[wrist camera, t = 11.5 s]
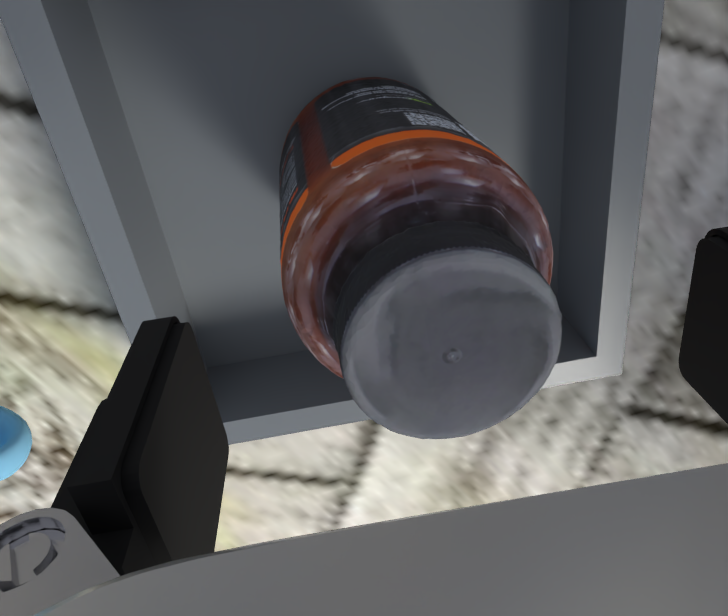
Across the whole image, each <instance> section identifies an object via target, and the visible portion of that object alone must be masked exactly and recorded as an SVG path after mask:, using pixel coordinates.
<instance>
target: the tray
mask: <svg viewBox="0 0 728 616" xmlns="http://www.w3.org/2000/svg"><path fill="white" fill-rule="evenodd" d="M664 1H665V0H0V17H1V19H2V22H3V24H4V27H5V29H6V32H7V34H8V37H9V39H10V42H11V44H12V47H13V49H14V52H15V54H16V57H17V59H18V62H19V64H20V67H21V69H22V72H23V74H24V77H25V79H26V82H27V85H28V87H29V90H30V92H31V95H32V97H33V100H34V102H35V105H36V107H37V110H38V112H39V115H40V117H41V120H42V122H43V125H44V127H45V130H46V132H47V135H48V137H49V140H50V142H51V145H52V147H53V150H54V152H55V155H56V157H57V160H58V162H59V165H60V167H61V170H62V172H63V175H64V177H65V180H66V182H67V185H68V187H69V190H70V192H71V195H72V197H73V200H74V202H75V205H76V207H77V210H78V212H79V215H80V217H81V220H82V222H83V225H84V227H85V230H86V232H87V235H88V237H89V240H90V242H91V245H92V247H93V250H94V252H95V255H96V257H97V260H98V262H99V265H100V267H101V270H102V272H103V275H104V277H105V280H106V282H107V285H108V287H109V290H110V292H111V295H112V297H113V300H114V302H115V305H116V307H117V310H118V312H119V315H120V317H121V320H122V322H123V325H124V327H125V330H126V332H127V335H128V337H129V340H130V342H131V345H132V343H133V340H134V338H135V336H136V334H137V332H138V329H139V327H140V325H141V323H142V322H143V321H147V320H153V319H159V318H165V317H172V316H176V317H177V318H178V319H179V321H180V323H184V322H189V323H190V325H191V327H192V329H193V332H194V335H195V339H196V342H197V345H198V348H199V351H200V354H201V357H202V360H203V363H204V366H205V369H206V372H207V375H208V379H209V382H210V385H211V388H212V391H213V394H214V397H215V400H216V403H217V406H218V409H219V412H220V415H221V419H222V422H223V425H224V428H225V431H226V434H227V438H228V445H230V444H235V443H241V442H247V441H252V440H258V439H263V438H269V437H275V436H280V435H286V434H291V433H297V432H303V431H308V430H314V429H319V428H325V427H330V426H336V425H342V424H347V423H353V422H358V421H364V420H370V419H371V418H370V417H368V416H367V415H366V414H365V413H364V412H363V411H362V410H361V409H360V408H359V407H358V405H357V404H356V402H355V401H354V400H353V399H352V397H351V395H350V393H349V391H348V389H347V387H346V385H345V383H344V380H343V378H341V377H339V376H337V375H336V374H334V373H333V372H331V371H330V370H329V369H328V368H327V367H325V366H324V365H323V364H321V363H320V362H319V361H318V360H317V359H316V358H315V357H314V355H313V354H312V353H311V352H310V351H309V349H308V348H307V347H306V346H305V345H304V343H303V342H302V340H301V338H300V337H299V335H298V333H297V332H296V330H295V328H294V326H293V324H292V322H291V319H290V317H289V314H288V311H287V308H286V305H285V301H284V296H283V289H282V279H281V263H280V260H281V259H280V199H279V167H280V161H281V154H282V150H283V146H284V142H285V140H286V136H287V134H288V131H289V129H290V127H291V125H292V123H293V122H294V120H295V119H296V118H297V116H298V115H299V114H300V112H301V111H302V110H303V109H304V108H305V106H306V105H307V104H308V103H310V102H311V101H312V100H313V99H314V98H315V97H317V96H318V95H319V94H321V93H322V92H324V91H325V90H327V89H328V88H330V87H332V86H334V85H336V84H339V83H341V82H344V81H347V80H352V79H356V78H366V77H381V78H388V79H393V80H397V81H400V82H403V83H406V84H408V85H410V86H412V87H414V88H416V89H418V90H420V91H422V92H423V93H424V94H426V95H427V96H429V97H430V98H431V99H433V100H434V101H435V102H436V103H437V104H438V105H440V106H441V107H442V108H443V109H444V110H445V111H447V112H448V113H449V114H450V115H451V116H452V117H453V118H455V119H456V120H457V121H458V122H460V123H461V124H462V125H463V126H464V127H465V128H466V129H468V130H469V131H470V132H471V133H472V134H473V135H475V136H476V137H477V138H478V139H479V140H480V141H482V142H483V143H484V144H485V145H486V146H487V147H489V148H490V149H491V150H492V151H494V152H495V153H496V154H497V155H498V156H499V157H500V158H501V159H502V160H503V161H504V162H506V163H507V164H508V165H509V166H510V167H511V168H512V169H513V170H514V171H515V172H516V173H517V174H518V175H519V176H520V177H521V178H522V179H523V181H524V182H525V183H526V184H527V186H528V187H529V188H530V190H531V191H532V193H533V194H534V195H535V197H536V199H537V200H538V202H539V204H540V206H541V207H542V209H543V213H544V215H545V216H546V219H547V221H548V225H549V231H550V234H551V239H552V247H553V267H552V277H551V283H550V287H551V289H552V291H553V293H554V294H555V296H556V298H557V302H558V306H559V309H560V311H561V314H562V320H561V323H562V336H561V346H560V352H559V355H558V359H557V362H556V364H555V365H554V367H553V369H552V371H551V373H550V376H549V377H548V378H547V380H546V381H545V383H544V385H543V386H542V387H541V389H543V388H548V387H554V386H560V385H565V384H571V383H576V382H582V381H588V380H593V379H599V378H604V377H610V376H616V375H621V374H622V369H623V360H624V351H625V342H626V334H627V325H628V316H629V307H630V299H631V290H632V281H633V272H634V264H635V255H636V246H637V237H638V229H639V220H640V211H641V202H642V194H643V185H644V176H645V167H646V159H647V150H648V141H649V132H650V124H651V115H652V106H653V97H654V89H655V80H656V71H657V62H658V54H659V45H660V36H661V27H662V19H663V10H664Z"/></svg>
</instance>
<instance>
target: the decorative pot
mask: <svg viewBox="0 0 728 616" xmlns="http://www.w3.org/2000/svg"><path fill="white" fill-rule="evenodd" d="M31 445H32V435H31V431H30V429H29V427H28V425H27V423H26V421H25V420H23V419H22V418H21V417H20V416H19V415H18V414H16V413H14V412H13V411H11V410H9V409H7V408H5V407H2V406H0V481H1V480H3V479H5V478H8V477H9V476H11V475H12V474H14V473H15V472H16V471H17V470H18V469H19V468H20V467H21V466H22V465H23V464H24V462H25V461H26V459H27V457H28V455H29V452H30V449H31Z"/></svg>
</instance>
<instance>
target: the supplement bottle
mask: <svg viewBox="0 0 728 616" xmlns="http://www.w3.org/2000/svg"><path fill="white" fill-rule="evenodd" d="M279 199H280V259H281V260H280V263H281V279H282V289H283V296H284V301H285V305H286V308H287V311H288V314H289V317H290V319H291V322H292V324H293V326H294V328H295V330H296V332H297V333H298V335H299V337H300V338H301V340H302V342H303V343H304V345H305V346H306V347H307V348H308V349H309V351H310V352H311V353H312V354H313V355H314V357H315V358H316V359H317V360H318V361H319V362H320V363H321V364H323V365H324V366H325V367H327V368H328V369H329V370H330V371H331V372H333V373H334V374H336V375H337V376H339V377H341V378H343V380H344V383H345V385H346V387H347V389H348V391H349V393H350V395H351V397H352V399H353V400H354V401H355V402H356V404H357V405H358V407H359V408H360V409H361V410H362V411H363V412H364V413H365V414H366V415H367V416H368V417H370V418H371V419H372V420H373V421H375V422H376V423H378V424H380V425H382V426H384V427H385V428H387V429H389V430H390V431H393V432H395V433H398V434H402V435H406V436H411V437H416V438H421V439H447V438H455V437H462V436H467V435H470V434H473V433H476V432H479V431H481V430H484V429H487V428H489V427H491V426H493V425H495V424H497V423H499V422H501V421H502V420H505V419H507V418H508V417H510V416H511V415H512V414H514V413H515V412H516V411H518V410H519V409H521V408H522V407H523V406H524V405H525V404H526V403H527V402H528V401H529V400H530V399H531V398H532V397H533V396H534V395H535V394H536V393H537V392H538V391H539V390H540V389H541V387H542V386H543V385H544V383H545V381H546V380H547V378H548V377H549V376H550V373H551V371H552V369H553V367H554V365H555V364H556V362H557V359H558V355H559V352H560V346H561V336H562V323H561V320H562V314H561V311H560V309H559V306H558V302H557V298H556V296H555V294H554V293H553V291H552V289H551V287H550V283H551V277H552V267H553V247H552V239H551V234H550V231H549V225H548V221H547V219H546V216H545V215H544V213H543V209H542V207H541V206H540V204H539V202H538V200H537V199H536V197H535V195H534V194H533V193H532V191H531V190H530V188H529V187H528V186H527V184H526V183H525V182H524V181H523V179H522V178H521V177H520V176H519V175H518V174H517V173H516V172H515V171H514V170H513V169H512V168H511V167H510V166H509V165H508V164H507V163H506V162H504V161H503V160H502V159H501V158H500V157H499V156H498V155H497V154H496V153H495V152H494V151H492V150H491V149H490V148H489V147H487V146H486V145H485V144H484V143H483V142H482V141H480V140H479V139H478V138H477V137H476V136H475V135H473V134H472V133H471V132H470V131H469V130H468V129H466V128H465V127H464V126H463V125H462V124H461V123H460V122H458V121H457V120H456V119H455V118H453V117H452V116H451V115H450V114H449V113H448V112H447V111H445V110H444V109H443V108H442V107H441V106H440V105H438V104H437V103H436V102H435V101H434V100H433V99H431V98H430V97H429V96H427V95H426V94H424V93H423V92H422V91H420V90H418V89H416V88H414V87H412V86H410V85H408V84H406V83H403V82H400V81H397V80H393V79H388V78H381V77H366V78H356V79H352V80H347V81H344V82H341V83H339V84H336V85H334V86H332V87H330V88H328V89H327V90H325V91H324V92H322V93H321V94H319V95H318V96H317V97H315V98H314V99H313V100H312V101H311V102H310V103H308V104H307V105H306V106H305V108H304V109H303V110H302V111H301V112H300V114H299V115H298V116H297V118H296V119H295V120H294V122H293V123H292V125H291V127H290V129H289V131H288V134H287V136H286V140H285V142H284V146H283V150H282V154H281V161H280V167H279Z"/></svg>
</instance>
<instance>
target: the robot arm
mask: <svg viewBox="0 0 728 616" xmlns="http://www.w3.org/2000/svg"><path fill="white" fill-rule="evenodd" d="M679 368H680V371H681V374H682V376H683V377H684V379H685V380H686V381H687V382H688V383H689V384H690V385H691V386H692V387H693V388H694V389H695V390H696V391H697V392H698V393H699V395H700V396H701V397H702V398H703V399H704V400H705V401H706V402H707V403H708V404H709V405H710V406H711V407H712V408H713V409H714V410H715V411H716V412H717V413H718V414H719V416H720V417H721V418H722V419H723V420H724V421H725V422H726V423H727V424H728V227H723V228H717V229H712V230H710V231H709V232H708V233H707V235H706V236H705V238H703V239H701V240H700V241H699V243H698V245H697V248H696V254H695V260H694V267H693V273H692V279H691V285H690V292H689V298H688V304H687V310H686V317H685V323H684V329H683V335H682V342H681V348H680V354H679ZM228 454H229V446H228V438H227V434H226V431H225V428H224V425H223V422H222V419H221V415H220V412H219V409H218V406H217V403H216V400H215V397H214V394H213V391H212V388H211V385H210V382H209V379H208V375H207V372H206V369H205V366H204V363H203V360H202V357H201V354H200V351H199V348H198V345H197V342H196V339H195V335H194V332H193V329H192V327H191V325H190V323H189V322H184V323H180V321H179V319H178V318H177V317H176V316H172V317H165V318H159V319H153V320H147V321H143V322H142V323H141V325H140V327H139V329H138V332H137V334H136V336H135V338H134V340H133V343H132V345H131V347H130V349H129V351H128V354H127V356H126V358H125V360H124V362H123V365H122V367H121V369H120V371H119V373H118V376H117V378H116V380H115V382H114V384H113V387H112V389H111V391H110V393H109V395H108V398H107V399H105V400H103V401H102V402H101V403H100V405H99V406H98V408H97V410H96V412H95V414H94V416H93V419H92V421H91V423H90V425H89V427H88V429H87V431H86V434H85V436H84V438H83V440H82V442H81V444H80V446H79V448H78V451H77V453H76V455H75V457H74V459H73V461H72V463H71V466H70V468H69V470H68V472H67V474H66V476H65V478H64V481H63V483H62V485H61V487H60V489H59V491H58V493H57V496H56V498H55V500H54V502H53V504H52V506H51V508H44V509H35V510H32V511H29V512H26V513H23V514H20V515H18V516H16V517H14V518H12V519H10V520H8V521H6V522H4V523H2V524H0V616H728V463H726V464H720V465H714V466H708V467H702V468H696V469H690V470H684V471H678V472H672V473H666V474H660V475H654V476H649V477H643V478H637V479H631V480H625V481H619V482H613V483H607V484H601V485H595V486H589V487H583V488H577V489H571V490H565V491H559V492H553V493H547V494H541V495H536V496H530V497H524V498H518V499H512V500H506V501H500V502H494V503H488V504H482V505H476V506H470V507H464V508H458V509H452V510H446V511H440V512H434V513H429V514H423V515H417V516H411V517H405V518H400V519H394V520H388V521H382V522H377V523H371V524H365V525H359V526H354V527H348V528H342V529H336V530H331V531H325V532H319V533H313V534H308V535H302V536H296V537H290V538H285V539H279V540H273V541H267V542H262V543H257V544H252V545H247V546H242V547H237V548H232V549H227V550H223V551H218V552H214V548H215V542H216V535H217V528H218V522H219V515H220V508H221V501H222V495H223V488H224V481H225V475H226V468H227V461H228Z"/></svg>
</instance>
